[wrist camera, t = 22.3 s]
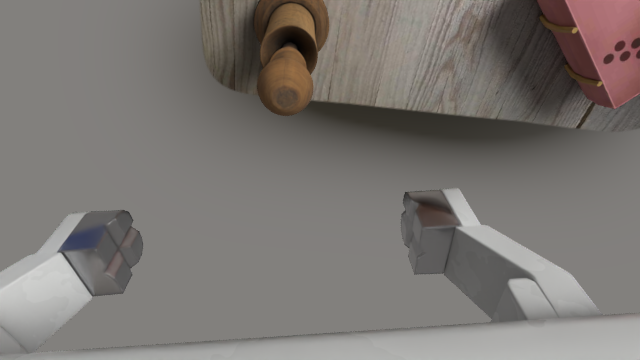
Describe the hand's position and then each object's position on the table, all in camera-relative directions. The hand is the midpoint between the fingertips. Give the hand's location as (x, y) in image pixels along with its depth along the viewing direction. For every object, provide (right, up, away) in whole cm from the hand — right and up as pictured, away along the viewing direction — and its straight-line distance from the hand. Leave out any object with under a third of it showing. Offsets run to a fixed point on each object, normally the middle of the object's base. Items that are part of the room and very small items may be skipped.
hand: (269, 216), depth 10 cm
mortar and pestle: (-1, +16, +22) cm, 27 cm away
